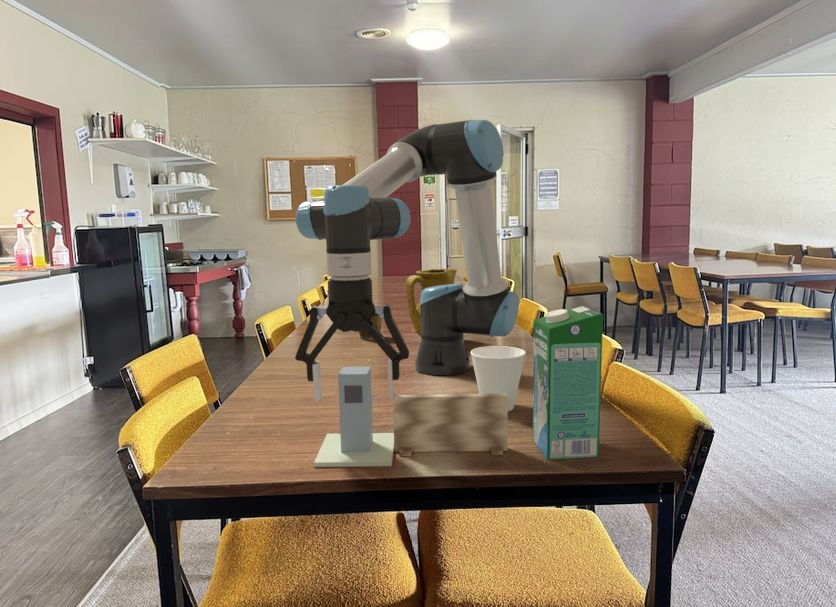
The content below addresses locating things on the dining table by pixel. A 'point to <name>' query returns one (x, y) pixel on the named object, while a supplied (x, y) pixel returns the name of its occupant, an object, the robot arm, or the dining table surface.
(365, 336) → the ceramic cup
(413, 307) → the pitcher
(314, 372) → the robot arm
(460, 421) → the birch screen
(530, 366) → the dining table surface
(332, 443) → the mat
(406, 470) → the dining table surface
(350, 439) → the block
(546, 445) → the milk carton
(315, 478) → the dining table surface
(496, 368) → the cup
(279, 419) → the dining table surface
